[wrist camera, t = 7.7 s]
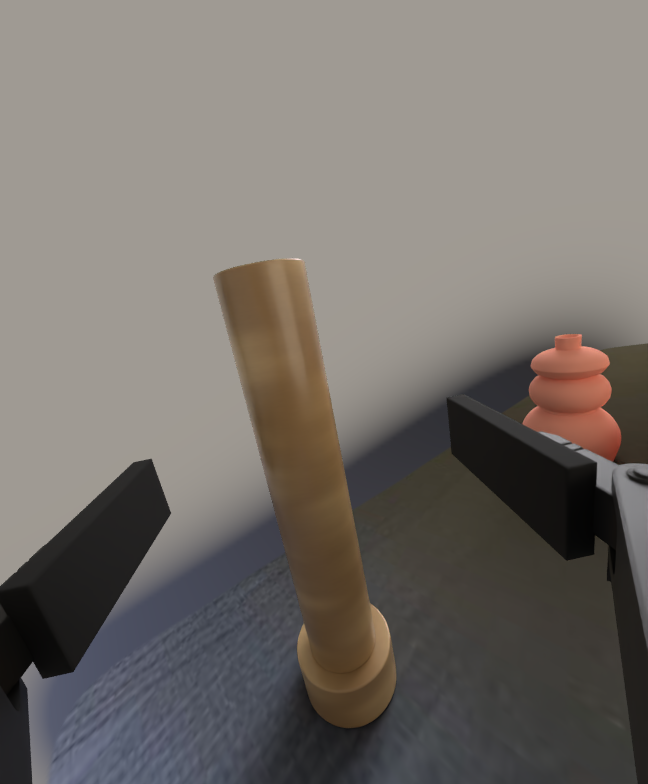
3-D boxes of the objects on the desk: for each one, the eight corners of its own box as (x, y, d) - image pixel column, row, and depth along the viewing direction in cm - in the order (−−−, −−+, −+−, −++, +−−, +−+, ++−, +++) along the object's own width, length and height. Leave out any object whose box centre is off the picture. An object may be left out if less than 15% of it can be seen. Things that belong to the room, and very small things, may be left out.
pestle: (307, 740, 12) (170, 274, 8) (304, 637, 16) (211, 285, 12) (409, 716, 12) (329, 243, 8) (383, 619, 16) (318, 265, 12)
